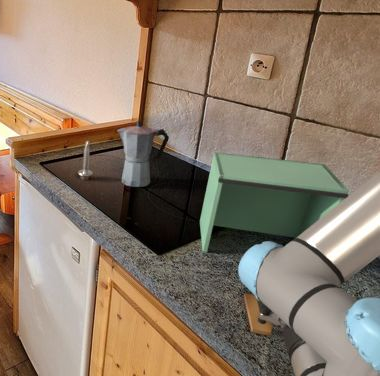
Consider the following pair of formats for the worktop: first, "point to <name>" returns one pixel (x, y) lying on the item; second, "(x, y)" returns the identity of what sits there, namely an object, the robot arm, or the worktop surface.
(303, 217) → the mint green shelf stand
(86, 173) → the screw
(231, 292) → the worktop surface
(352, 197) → the robot arm
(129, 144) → the moka pot
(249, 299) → the orange-brown trapezoid plate
